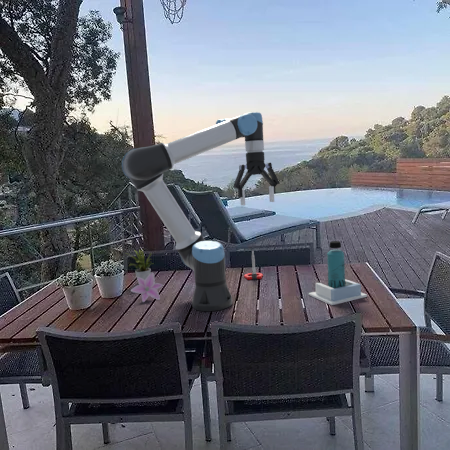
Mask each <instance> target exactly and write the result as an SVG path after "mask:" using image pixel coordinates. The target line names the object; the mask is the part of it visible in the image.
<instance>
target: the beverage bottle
mask: <svg viewBox="0 0 450 450" xmlns="http://www.w3.org/2000/svg"><path fill="white" fill-rule="evenodd" d="M329 248H330V249H331V250H329V251H328V252H327V254H326V259H327V286H329V287H332V288H334V289H335V288H339V287H344V286H345V283H346V282H345V279H346V266H345V265H346V263H345V253H344V252H343V250H341V248H342V243H341V241H339V240H333V241H330V242H329Z"/></svg>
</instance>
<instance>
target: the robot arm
mask: <svg viewBox="0 0 450 450" xmlns="http://www.w3.org/2000/svg"><path fill="white" fill-rule="evenodd" d="M240 138H244V147H245V152H246V153H245V162H246V164H239V165H238V167H239V169H238V173H237V176H236V177H235V181H234V183H233V189H237V193H238V198H240V206H246V196H245V194H246V193H245V192H246V191H245V188H244V187H245V186H246V184H247V182H248V181H249V179H250V178H251V176H255V175H261V176H262V177H263V178H264V179H265V180H266V182H267V183H268V185H270V186H268V194H269V197H268V198H269V203H275V194H276V187H277V185H280V181H279V179H278V176H277V175H276V172H275V170H274V168H273V164H272V162H266V163H265V152H264V150H265V143H264V122H263V115H262V113H261V112H258V111H256V112H254V111H253V112H245V113H244V114H243V113H242V114H240V115H237V116H234V117H231V118H219V119H217V121H215V125H212V126H209V127H207V128H204V129H201V130H199V131H196V132H194V133H191V134H188V135H186V136H183V137H180V138H178V139H175V140H173V141H170V142H168V143H164V142H159V143H157V144H154V145H149V146H144V147H138V148H132V149H131V150H129V151H128V152H126V153H125V154H124V156H123V158H122V159H121V169H122V172H123V174H124V176H126V177H127V179H129V180H130V182H131V183H132V185H133V186H134V187H135V189H136V191H139V192H143V194H144V196H145V197H146V198H147V200H148V201H149V203H150V204H151V206H152V207H153V209H154V210H155V212H156V214H157V215H158V217H159V218H160V220H161V221H162V223H163V224H164V226H165V227H166V229H167V231H168V232H169V234H170V235H171V236H172V238H173V239H174V241H175V249H176V251H177V253H178V254H179V257H180V259H181V262H182V263H183V264H184V265H185V266H186V267H187V268H189V269H191V270H192V271H193V275H194V283H195V284H194V291H193V294H192V299H191V305H192V308H193V310H196V311H200V312H216V311H221V310H226V309H228V308H230V307H231V306H232V305H233V296H232V294H231V291H230V289H229V286H228V285H227V274H226V262H225V261H226V260H225V248H224V245H223V244H222V243H220V242H218V241H213V240H206V239H205V238H204V235H203V234H202V232H201V231H198V230H195V229H194V227H193V226H192V224H191V222H190V221H189V219H188V218H187V216H186V214H185V213H184V211H183V209H182V208H181V206H180V205H179V204H178V202H177V200H176V198H175V197H174V196H173V194H172V193H171V191H170V189H169V188H168V187H167V184H166V183H165V181H164V180H163V179H164V178H163V177H164V172H167V171H170V170H172V169H173V168H174V166H175V165H176V164H179V163H181V162H183V161H187V160H188V159H191V158H193V157H196V156H198V155H200V154H201V155H202V154H204V153H205V152H208V151H211V150H213V149H215V148H218V147H220V146H223V145H226V144H229V143H230V142H232V141H235V140H238V139H240ZM245 170H246V173H245ZM266 170H267V171H266ZM267 172H268V173H267ZM244 173H245V175H244Z"/></svg>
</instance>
